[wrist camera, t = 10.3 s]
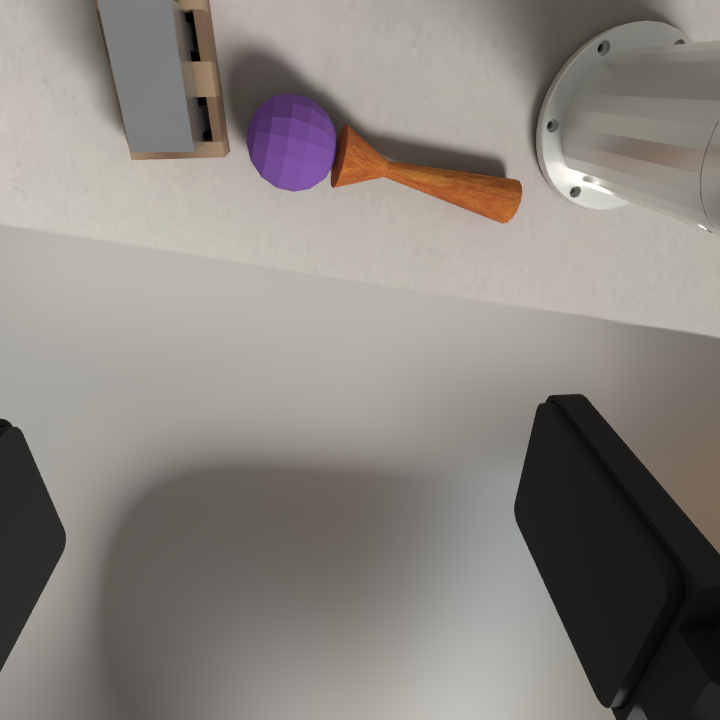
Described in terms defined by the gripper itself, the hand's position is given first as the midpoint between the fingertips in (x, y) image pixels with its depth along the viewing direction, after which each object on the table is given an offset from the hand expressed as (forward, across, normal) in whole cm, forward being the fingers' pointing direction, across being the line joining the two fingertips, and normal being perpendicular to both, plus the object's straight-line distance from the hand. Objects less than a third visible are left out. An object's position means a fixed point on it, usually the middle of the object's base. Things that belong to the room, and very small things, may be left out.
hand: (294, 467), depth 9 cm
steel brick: (+32, +8, -6) cm, 33 cm away
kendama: (+32, -6, -1) cm, 33 cm away
